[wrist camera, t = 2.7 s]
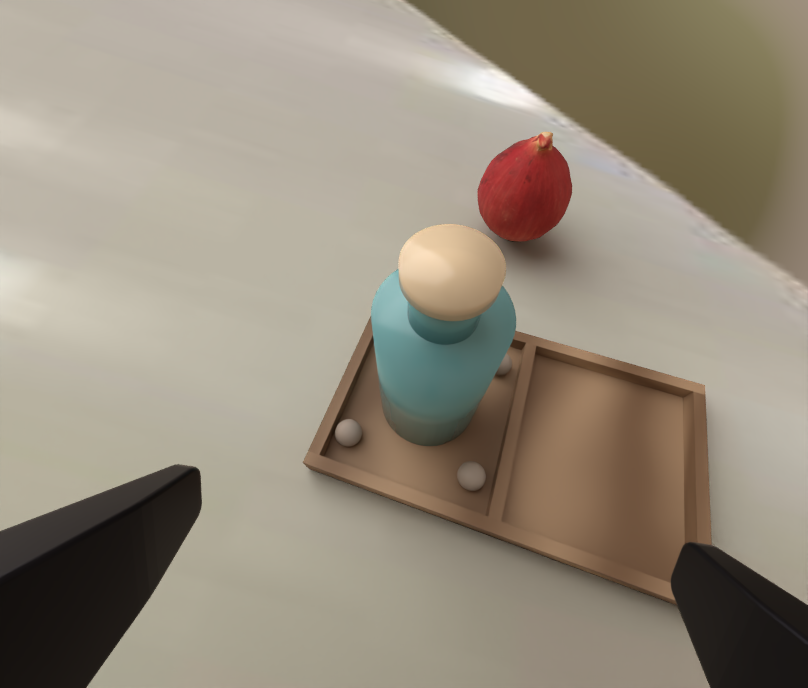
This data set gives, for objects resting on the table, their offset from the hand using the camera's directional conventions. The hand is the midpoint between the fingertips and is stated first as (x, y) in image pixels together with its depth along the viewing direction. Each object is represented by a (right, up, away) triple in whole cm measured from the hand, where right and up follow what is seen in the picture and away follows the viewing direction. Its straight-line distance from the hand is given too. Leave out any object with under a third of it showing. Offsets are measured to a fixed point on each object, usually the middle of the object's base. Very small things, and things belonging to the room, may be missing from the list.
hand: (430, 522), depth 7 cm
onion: (+7, +11, +21) cm, 25 cm away
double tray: (+5, -1, +14) cm, 15 cm away
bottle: (+1, 0, +14) cm, 14 cm away
